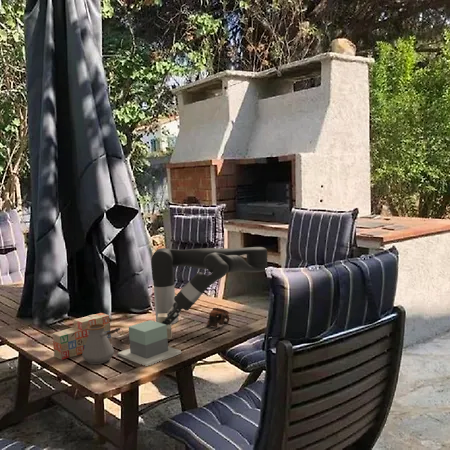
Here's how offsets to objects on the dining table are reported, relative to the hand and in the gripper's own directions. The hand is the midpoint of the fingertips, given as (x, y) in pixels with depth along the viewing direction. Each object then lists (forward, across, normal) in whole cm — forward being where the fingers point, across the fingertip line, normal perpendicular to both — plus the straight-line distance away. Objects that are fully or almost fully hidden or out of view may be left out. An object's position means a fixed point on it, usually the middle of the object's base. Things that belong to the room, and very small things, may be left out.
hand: (160, 327), depth 205 cm
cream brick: (+2, 0, -4) cm, 5 cm away
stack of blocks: (+26, -4, +17) cm, 31 cm away
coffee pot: (+17, -19, +9) cm, 27 cm away
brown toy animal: (-13, +17, -22) cm, 30 cm away
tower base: (+7, -14, -2) cm, 15 cm away
